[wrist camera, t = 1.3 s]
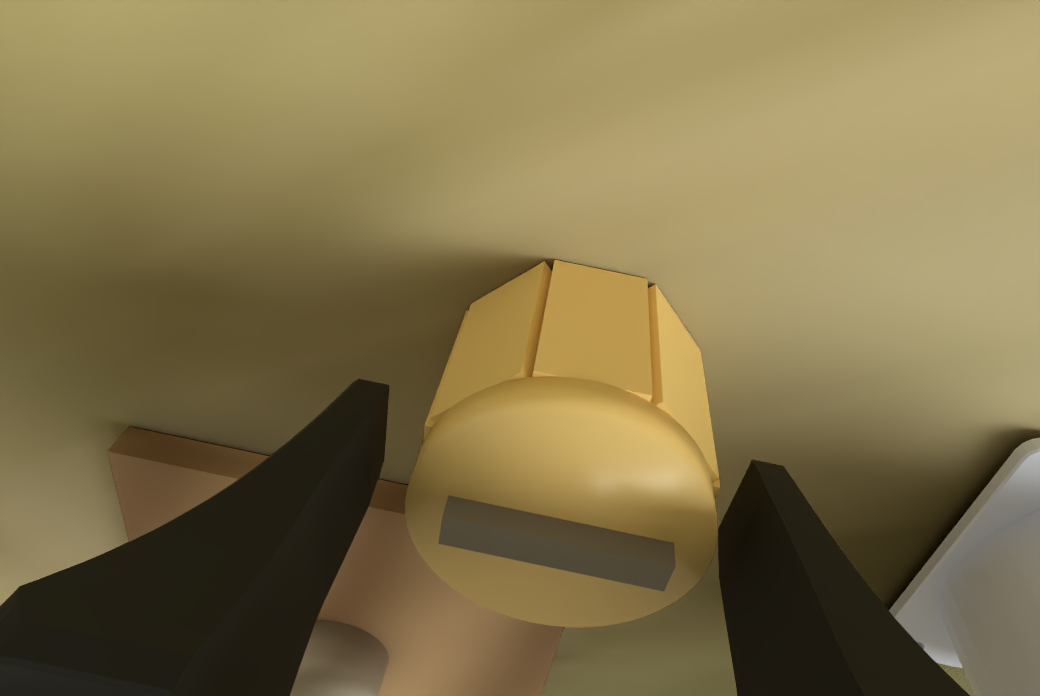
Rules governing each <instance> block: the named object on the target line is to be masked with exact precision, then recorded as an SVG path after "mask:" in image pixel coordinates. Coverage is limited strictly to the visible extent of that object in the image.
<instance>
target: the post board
mask: <svg viewBox="0 0 1040 696" xmlns="http://www.w3.org/2000/svg"><path fill="white" fill-rule="evenodd" d="M107 453H108V457H109V461H110V465H111V469H112V473H113V477H114V481H115V486H116V490H117V494H118V498H119V502H120V506H121V510H122V514H123V518H124V522H125V527H126V531H127V535H128V539H129V541H132V540H134V539H136V538H138V537H140V536H142V535H144V534H146V533H148V532H150V531H152V530H154V529H156V528H158V527H160V526H162V525H164V524H166V523H167V522H169V521H171V520H173V519H175V518H176V517H178V516H180V515H182V514H183V513H185V512H187V511H189V510H190V509H192V508H194V507H195V506H197V505H199V504H201V503H202V502H204V501H206V500H207V499H209V498H211V497H212V496H214V495H215V494H217V493H218V492H220V491H221V490H223V489H225V488H226V487H228V486H229V485H231V484H232V483H234V482H235V481H237V480H238V479H239V478H241V477H242V476H244V475H245V474H247V473H248V472H249V471H251V470H252V469H253V468H255V467H256V466H257V465H259V464H260V463H261V462H263V461H264V460H265V459H267V458H268V457H269V456H266V455H261V454H256V453H251V452H247V451H242V450H237V449H233V448H228V447H223V446H218V445H214V444H209V443H204V442H199V441H195V440H190V439H185V438H180V437H176V436H171V435H166V434H162V433H157V432H152V431H147V430H143V429H138V428H133V427H128V428H127V430H126V431H125V432H124V433H123V434H122V435H121V436H120V437H119V439H118V440H117V441H116V442H115V443H114V444H113V445H112V446H111V448H110V449H109V450H108V451H107ZM407 487H408V485H403V484H398V483H393V482H389V481H384V480H379V479H378V481H377V484H376V487H375V490H374V493H373V496H372V499H371V502H370V505H369V507H368V509H367V511H366V514H365V516H364V518H363V520H362V522H361V524H360V527H359V529H358V531H357V533H356V535H355V537H354V539H353V542H352V544H351V546H350V548H349V550H348V552H347V554H346V556H345V559H344V561H343V563H342V565H341V567H340V569H339V571H338V573H337V576H336V578H335V580H334V582H333V584H332V586H331V588H330V590H329V593H328V595H327V597H326V599H325V601H324V603H323V606H322V608H321V611H320V613H319V615H318V618H317V620H316V622H315V625H314V628H313V631H312V634H311V636H310V639H309V642H308V645H307V648H306V650H305V653H304V656H303V659H302V662H301V665H300V667H299V670H298V673H297V676H296V679H295V682H294V685H293V688H292V691H291V694H290V696H541V693H542V690H543V688H544V685H545V682H546V679H547V676H548V673H549V670H550V667H551V664H552V661H553V658H554V655H555V652H556V649H557V647H558V644H559V641H560V638H561V635H562V632H563V629H564V627H560V626H549V625H543V624H537V623H531V622H527V621H523V620H519V619H515V618H512V617H509V616H506V615H503V614H500V613H497V612H495V611H493V610H490V609H488V608H486V607H484V606H481V605H479V604H477V603H476V602H474V601H472V600H470V599H468V598H466V597H465V596H463V595H462V594H460V593H459V592H457V591H456V590H454V589H453V588H451V587H450V586H449V585H448V584H447V583H445V582H444V581H443V580H442V579H441V578H440V577H438V575H437V574H436V573H435V572H434V571H433V570H432V569H431V568H430V567H429V566H428V565H427V563H426V562H425V561H424V559H423V558H422V557H421V555H420V554H419V552H418V551H417V549H416V547H415V545H414V543H413V541H412V539H411V536H410V533H409V531H408V528H407V523H406V517H405V497H406V492H407Z"/></svg>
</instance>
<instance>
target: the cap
mask: <svg viewBox="0 0 1040 696" xmlns="http://www.w3.org/2000/svg"><path fill="white" fill-rule="evenodd" d="M719 490H720V482H719V473H718V466H717V459H716V452H715V445H714V439H713V432H712V425H711V418H710V411H709V404H708V398H707V391H706V384H705V377H704V370H703V363H702V357H701V351H700V349H699V348H698V346H697V345H696V344H695V342H694V341H693V339H692V338H691V336H690V335H689V333H688V332H687V330H686V329H685V327H684V326H683V324H682V323H681V321H680V320H679V318H678V317H677V315H676V314H675V312H674V311H673V309H672V308H671V306H670V305H669V303H668V302H667V300H666V299H665V297H664V296H663V294H662V293H661V291H660V290H659V288H658V287H657V285H656V284H655V285H653V286H651V287H649V288H648V282H647V279H646V278H641V277H636V276H631V275H626V274H621V273H617V272H612V271H607V270H602V269H597V268H592V267H588V266H583V265H578V264H573V263H568V262H563V261H559V260H554V265H553V269H552V271H551V269H550V268H549V267H548V265H547V264H546V263H545V261H544V262H542V263H541V264H539V265H537V266H535V267H534V268H532V269H530V270H528V271H527V272H525V273H523V274H522V275H520V276H518V277H516V278H515V279H513V280H511V281H509V282H508V283H506V284H504V285H502V286H501V287H499V288H497V289H496V290H494V291H492V292H490V293H489V294H487V295H485V296H483V297H482V298H480V299H478V300H477V301H475V302H473V303H471V306H470V308H469V311H468V310H466V313H465V316H464V319H463V321H462V324H461V327H460V330H459V332H458V335H457V338H456V341H455V343H454V346H453V349H452V352H451V354H450V357H449V360H448V363H447V365H446V368H445V371H444V374H443V376H442V379H441V382H440V384H439V387H438V390H437V393H436V395H435V398H434V401H433V404H432V406H431V409H430V412H429V415H428V417H427V420H426V423H425V426H424V434H423V443H422V448H421V450H420V453H419V456H418V459H417V461H416V464H415V467H414V470H413V473H412V475H411V478H410V481H409V484H408V487H407V492H406V497H405V517H406V523H407V528H408V531H409V533H410V536H411V539H412V541H413V543H414V545H415V547H416V549H417V551H418V552H419V554H420V555H421V557H422V558H423V559H424V561H425V562H426V563H427V565H428V566H429V567H430V568H431V569H432V570H433V571H434V572H435V573H436V574H437V575H438V577H440V578H441V579H442V580H443V581H444V582H445V583H447V584H448V585H449V586H450V587H451V588H453V589H454V590H456V591H457V592H459V593H460V594H462V595H463V596H465V597H466V598H468V599H470V600H472V601H474V602H476V603H477V604H479V605H481V606H484V607H486V608H488V609H490V610H493V611H495V612H497V613H500V614H503V615H506V616H509V617H512V618H515V619H519V620H523V621H527V622H531V623H537V624H543V625H549V626H560V627H598V626H607V625H613V624H620V623H624V622H628V621H632V620H636V619H639V618H642V617H645V616H648V615H650V614H653V613H655V612H657V611H659V610H661V609H663V608H665V607H668V606H669V605H671V604H672V603H674V602H675V601H677V600H679V599H680V598H682V597H683V596H684V595H685V594H686V593H687V592H689V591H690V590H691V589H692V588H693V587H694V586H695V585H696V584H697V583H698V581H699V580H700V579H701V578H702V577H703V575H704V574H705V572H706V570H707V569H708V567H709V566H710V564H711V561H712V559H713V556H714V553H715V551H716V545H717V540H718V521H717V514H716V506H715V498H716V496H717V494H718V492H719Z"/></svg>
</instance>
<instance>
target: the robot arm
mask: <svg viewBox="0 0 1040 696" xmlns="http://www.w3.org/2000/svg"><path fill="white" fill-rule="evenodd" d="M388 397H389V385H386V384H381V383H376V382H371V381H367V380H362V379H358V380H356V381H354V382H353V383H352V384H351V385H350V386H349V387H348V388H347V389H346V390H345V391H344V392H343V393H342V394H341V395H340V396H339V397H338V398H337V399H336V400H335V401H334V402H333V403H331V404H330V405H329V406H328V407H327V408H326V409H325V410H324V411H323V412H322V413H321V414H320V415H318V416H317V417H316V418H315V419H314V420H313V421H312V422H311V423H309V424H308V425H307V426H306V427H305V428H304V429H302V430H301V431H300V432H299V433H298V434H297V435H295V436H294V437H293V438H292V439H291V440H290V441H288V442H287V443H286V444H285V445H283V446H282V447H281V448H280V449H278V450H277V451H276V452H274V453H273V454H272V455H271V456H269V457H268V458H267V459H265V460H264V461H263V462H261V463H260V464H259V465H257V466H256V467H255V468H253V469H252V470H251V471H249V472H248V473H247V474H245V475H244V476H242V477H241V478H239V479H238V480H237V481H235V482H234V483H232V484H231V485H229V486H228V487H226V488H225V489H223V490H221V491H220V492H218V493H217V494H215V495H214V496H212V497H211V498H209V499H207V500H206V501H204V502H202V503H201V504H199V505H197V506H195V507H194V508H192V509H190V510H189V511H187V512H185V513H183V514H182V515H180V516H178V517H176V518H175V519H173V520H171V521H169V522H167V523H166V524H164V525H162V526H160V527H158V528H156V529H154V530H152V531H150V532H148V533H146V534H144V535H142V536H140V537H138V538H136V539H134V540H132V541H129V542H127V543H125V544H123V545H121V546H119V547H117V548H115V549H113V550H111V551H108V552H106V553H104V554H102V555H99V556H97V557H95V558H92V559H90V560H88V561H85V562H83V563H80V564H78V565H75V566H72V567H70V568H67V569H65V570H62V571H59V572H57V573H54V574H52V575H49V576H46V577H44V578H41V579H39V580H36V581H33V582H31V583H28V584H25V585H22V586H20V587H19V588H18V589H17V590H16V591H15V592H14V593H13V594H12V595H11V596H10V597H9V598H8V599H7V600H6V601H5V602H4V603H3V604H2V605H1V606H0V696H290V694H291V691H292V688H293V685H294V682H295V679H296V676H297V673H298V670H299V667H300V665H301V662H302V659H303V656H304V653H305V650H306V648H307V645H308V642H309V639H310V636H311V634H312V631H313V628H314V625H315V622H316V620H317V618H318V615H319V613H320V611H321V608H322V606H323V603H324V601H325V599H326V597H327V595H328V593H329V590H330V588H331V586H332V584H333V582H334V580H335V578H336V576H337V573H338V571H339V569H340V567H341V565H342V563H343V561H344V559H345V556H346V554H347V552H348V550H349V548H350V546H351V544H352V542H353V539H354V537H355V535H356V533H357V531H358V529H359V527H360V524H361V522H362V520H363V518H364V516H365V514H366V511H367V509H368V507H369V505H370V502H371V499H372V496H373V493H374V490H375V487H376V484H377V481H378V478H379V474H380V471H381V468H382V465H383V462H384V454H385V440H386V426H387V411H388ZM718 557H719V579H720V586H721V593H722V600H723V606H724V613H725V619H726V625H727V631H728V638H729V644H730V650H731V656H732V662H733V669H734V675H735V681H736V687H737V696H970V695H969V694H968V693H967V692H966V691H965V690H963V689H962V688H961V687H960V686H959V685H958V684H957V683H956V682H955V681H954V680H953V679H952V678H951V677H950V676H949V675H948V674H947V673H946V672H945V671H944V670H943V669H942V668H941V667H940V666H939V665H938V664H937V663H940V664H945V665H949V666H954V667H959V668H963V670H964V672H965V675H966V677H967V680H968V682H969V684H970V687H971V689H972V692H973V694H974V696H1040V438H1035V439H1030V440H1028V441H1026V442H1024V443H1022V444H1021V445H1019V446H1018V447H1017V448H1016V449H1015V450H1014V451H1013V453H1012V454H1011V455H1010V456H1009V458H1008V459H1007V460H1006V462H1005V463H1004V464H1003V465H1002V467H1001V468H1000V469H999V470H998V472H997V473H996V474H995V476H994V477H993V478H992V479H991V481H990V482H989V483H988V485H987V486H986V487H985V488H984V490H983V491H982V492H981V494H980V495H979V496H978V497H977V499H976V500H975V501H974V502H973V504H972V505H971V506H970V508H969V509H968V510H967V511H966V513H965V514H964V515H963V517H962V518H961V519H960V520H959V522H958V523H957V524H956V525H955V527H954V528H953V529H952V531H951V532H950V533H949V534H948V536H947V537H946V538H945V540H944V541H943V542H942V543H941V545H940V546H939V547H938V548H937V550H936V551H935V552H934V554H933V555H932V556H931V557H930V559H929V560H928V561H927V563H926V564H925V565H924V566H923V568H922V569H921V570H920V571H919V573H918V574H917V575H916V577H915V578H914V579H913V580H912V582H911V583H910V584H909V586H908V587H907V588H906V589H905V591H904V592H903V593H902V595H901V596H900V597H899V598H898V600H897V601H896V602H895V603H894V605H893V606H892V607H891V609H890V610H889V611H888V609H887V608H886V607H885V606H884V605H883V603H882V602H881V601H880V600H879V598H878V597H877V596H876V595H875V593H874V592H873V591H872V590H871V588H870V587H869V586H868V585H867V583H866V582H865V581H864V580H863V578H862V577H861V576H860V575H859V573H858V572H857V571H856V569H855V568H854V567H853V565H852V564H851V563H850V561H849V560H848V559H847V557H846V556H845V555H844V553H843V552H842V550H841V549H840V548H839V546H838V545H837V543H836V542H835V541H834V539H833V538H832V536H831V535H830V534H829V532H828V531H827V529H826V528H825V526H824V525H823V524H822V522H821V521H820V519H819V518H818V516H817V515H816V513H815V512H814V510H813V509H812V507H811V506H810V504H809V503H808V502H807V500H806V499H805V497H804V496H803V494H802V493H801V491H800V490H799V488H798V487H797V485H796V484H795V482H794V481H793V479H792V478H791V476H790V475H789V473H788V472H787V471H786V469H785V468H784V466H780V465H776V464H771V463H766V462H761V461H756V460H752V461H751V463H750V465H749V467H748V470H747V472H746V474H745V476H744V478H743V480H742V482H741V484H740V486H739V488H738V490H737V492H736V494H735V496H734V498H733V500H732V502H731V504H730V506H729V508H728V510H727V512H726V514H725V516H724V518H723V520H722V522H721V524H720V526H719V528H718Z"/></svg>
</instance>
